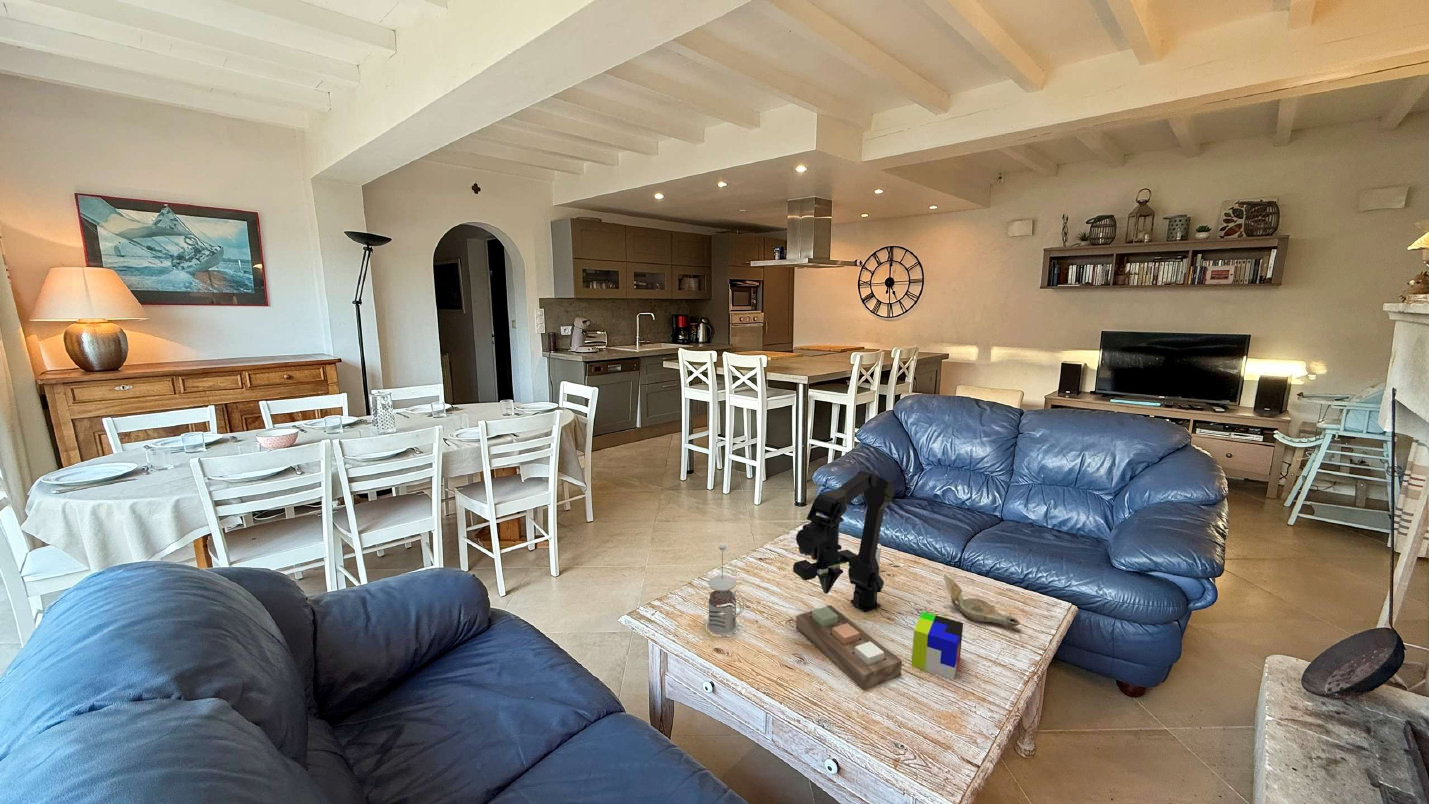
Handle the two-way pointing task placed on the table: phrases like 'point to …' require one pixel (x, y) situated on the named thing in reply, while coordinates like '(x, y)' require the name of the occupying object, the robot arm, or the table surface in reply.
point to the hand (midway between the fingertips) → (825, 592)
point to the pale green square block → (824, 617)
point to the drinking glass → (878, 553)
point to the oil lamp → (977, 607)
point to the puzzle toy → (937, 644)
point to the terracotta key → (845, 634)
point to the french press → (721, 596)
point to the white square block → (869, 653)
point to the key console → (849, 651)
